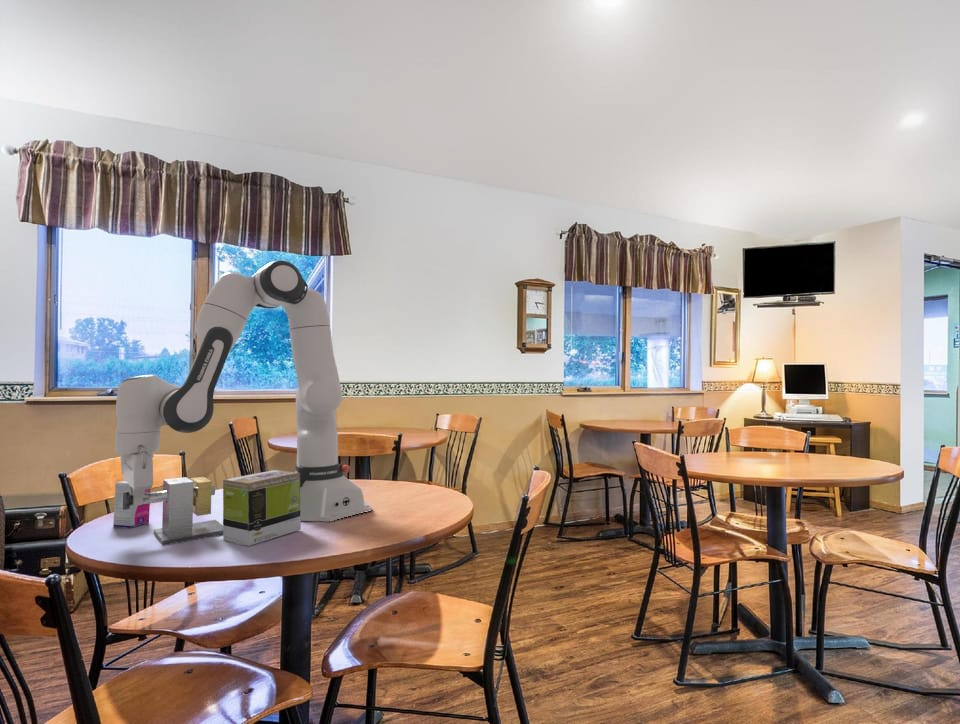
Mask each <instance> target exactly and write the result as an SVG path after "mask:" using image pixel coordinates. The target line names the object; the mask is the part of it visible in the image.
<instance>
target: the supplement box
mask: <svg viewBox="0 0 960 724" xmlns="http://www.w3.org/2000/svg"><path fill="white" fill-rule="evenodd" d="M114 489H115V490H114V505H113V506H114V507H113V525H112V526H113V528H122V527H127V528H126V529H132V527H133V528H134V527H137V526H141V524H142V525H145V524H149V523H150V512H151V511H150V508H151V507H150V505H151V503H149V504H142V505H138V506H135V505H133V506H130V508H129V509H128V510H122V504H121V499H122V493H123V492H129V493H130V487H129V484H128V482H127V481H126V480H122V481H117V482H115V487H114ZM151 490H152V488H151V489H145V491H144V493H151V492H152V491H151ZM130 495H131V494H130Z"/></svg>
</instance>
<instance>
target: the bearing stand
mask: <svg viewBox="0 0 960 724" xmlns="http://www.w3.org/2000/svg"><path fill="white" fill-rule="evenodd" d="M162 488H163V489H162V491H168V494H167V501H164V502H162V520H161V521H162V522H161V523H162V525H161V528H155V529H153V535H154V536H155V538H156V539H157V541H159V543H160V544H161V545H162V546H166V544H167V545H171V543H172V544H176V542H178V543H182V541H184V542H188V541H187V540H189V541H193V539H195V540H199V539H198V538H201V539H205V538H204V537H206V538H212V537H216V536H217V535H218V536H222V535H223V523H220V522H219V521H218V520H217V519H211V520H206V521H199V522H194V521H193V518H194V516H193V514H194V513H193V481H191V478H188V477H187V476H185V477H184V476H183V477H177V478H175V477H174V478H166V479H163V483H162ZM211 536H212V537H211Z"/></svg>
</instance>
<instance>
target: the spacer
mask: <svg viewBox="0 0 960 724" xmlns="http://www.w3.org/2000/svg"><path fill="white" fill-rule="evenodd" d="M190 480H191V481H193V487H194V488H196V497H195V498H193V514H194V515H196V517H201V516H205V515H207V516H208V515H211V514H212V495H211V485H212V480H210V479H208V478H207V477H205V476H199V477H191V478H190Z"/></svg>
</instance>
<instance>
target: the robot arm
mask: <svg viewBox="0 0 960 724" xmlns="http://www.w3.org/2000/svg"><path fill="white" fill-rule="evenodd" d="M308 286H309V285H308V284H307V282H306V280H305V278H304V277H303V275H302V273H301V272H300V270H299V269H298V268H297V266H295V265H294V264H293V263H291V262H289V261H287V260H280V259H279V260H273V261H270V262H268V263H267V264H265V265H264V266H262V267H261V268H259V269H258V270H257V271H256V273H254V274H253V275H252V276H246V275H245V274H242V273H239V272H230V271H229V272H226V273H224V274H222V275H221V276H220V277H219V278H218V280H216V281H215V283H214V284H213V286H212V288H211V289H210V290H209V292H208V293H207V296H206V298H205V299H204V301H203V303H202V306H201V308H200V310H199V313H198V315H197V317H196V318H197V319H196V322H195V326H194V327H195V328H194V330H195V334H196V336H197V340H198V349H197V353H196V355H195V358H194V361H193V362H192V366H191V367H190V370H189V371H188V374H187V377H186V379H185V381H184V383H183V384H182V386H179V385H176V384H173V383H170V382H169V381H166V380H164V379H163V378H160V377H159V376H158V375H157V374H145V375H137V376H132V377H128V378H125V379H124V380H122V381H121V382H120V384H119V385H118V389H117V392H116V393H117V394H116V402H115V415H116V418H117V426H116V428H115V436H114V437H115V438H114V453H116V454H119V455H120V465H121V466H120V467H121V474H122V478H123V480H124V481H127V482H128V484H129V487H130V494H131V495H133V504H134V505H135V506H138V505H142V504H143V496H144V491H145V489H151V490H152V488H153V485H154V460H153V458H154V455H155V454H154V453H155V452H158V451H160V449H161V428H162V427H163V426H169V428H170V429H172V430H174V431H175V432H180V433H183V434H189V433H190V434H191V433H195V432H198V431H200V430H202V429H203V428H205V427H206V426H207V425H208V424H209V423H210V421H211V420H212V417H213V416H214V415H213V414H214V410H215V409H214V406H215V405H214V392H215V388H216V386H217V383H218V381H219V380H220V379H219V378H220V376H221V373H222V371H223V368H224V366H225V364H226V361H227V359H228V356H229V354H230V352H231V351H232V349H233V348H234V346H235V344H236V342H237V341H238V340H239V338H240V336H241V334H242V333H243V330H244V328H245V327H246V325H247V322H248V320H249V318H250V315H251V312H252V311H254V310H253V309H255V308H256V307H257V308H264V309H275V308H279V307H281V308H282V309H283V310H284V311H285V314H286V315H287V316H286V317H287V319H288V327H289V329H288V330H289V336H290V343H291V355H292V360H293V364H294V369H295V374H296V380H297V387H296V388H297V389H296V391H295V418H296V421H295V422H296V437H297V438H296V439H297V440H296V464H295V466H294V472H296V473H300V517H301V522H302V521H303V522H326V523H327V522H329V521H330V522H334V520H335V521H338V520H337V519H339V520H342V519H341V518H343V519H345V518H344V517H347V518H349V517H348V516H351V515H355V514H358V513H361V512H365V511H369V510H371V509H372V510H373V507H372V506H371V504H369V503H367V502H365V499H364V493H363V490H362V488H361V487H359V486H358V485H357V484H355V483H354V482H353V481H351V480H350V479H348V478H347V477H346V476H345V475H344V473H349V472H350V471H351V466H349V464H341V463H339V461H338V460H339V459H338V458H339V456H338V455H339V451H338V450H339V445H338V444H339V442H338V441H339V435H338V428H337V417H336V411H337V410H338V408H339V407H340V405H341V402H342V400H343V392H342V388H341V382H340V377H339V371H338V368H337V363H336V359H335V353H334V347H333V338H332V331H331V324H330V318H329V317H330V316H329V311H328V307H327V305H326V302H325V301H326V300H325V299H324V297H323V294H322V293H321V292H319V291H318V290H315V289H312V288H309V287H308ZM355 516H356V515H355ZM351 517H352V516H351Z"/></svg>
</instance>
